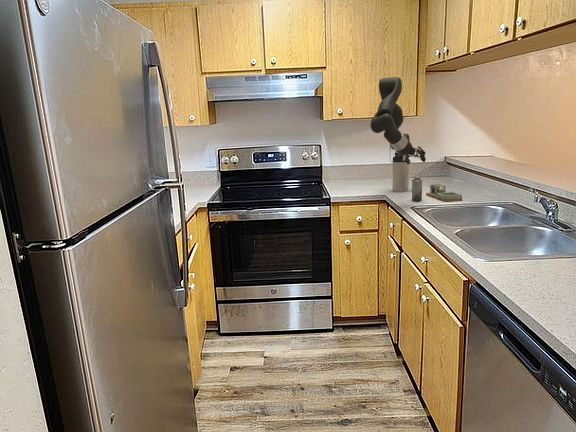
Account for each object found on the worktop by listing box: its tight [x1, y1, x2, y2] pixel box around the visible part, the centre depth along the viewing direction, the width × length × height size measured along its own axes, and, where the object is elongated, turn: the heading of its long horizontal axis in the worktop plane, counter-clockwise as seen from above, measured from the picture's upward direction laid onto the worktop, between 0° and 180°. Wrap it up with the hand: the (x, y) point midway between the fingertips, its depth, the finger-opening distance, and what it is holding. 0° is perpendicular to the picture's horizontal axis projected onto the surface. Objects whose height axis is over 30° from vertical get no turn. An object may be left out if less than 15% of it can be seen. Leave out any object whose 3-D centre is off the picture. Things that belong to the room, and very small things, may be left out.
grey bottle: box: [411, 175, 423, 203], centre depth 232 cm, size 5×5×13 cm
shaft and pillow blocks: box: [429, 183, 446, 195], centre depth 243 cm, size 9×5×5 cm, turn 7°
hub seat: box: [437, 191, 463, 199], centre depth 232 cm, size 9×9×2 cm
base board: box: [425, 192, 463, 203], centre depth 238 cm, size 21×10×1 cm, turn 8°
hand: (417, 161), depth 225 cm, fingers open, 8 cm apart
